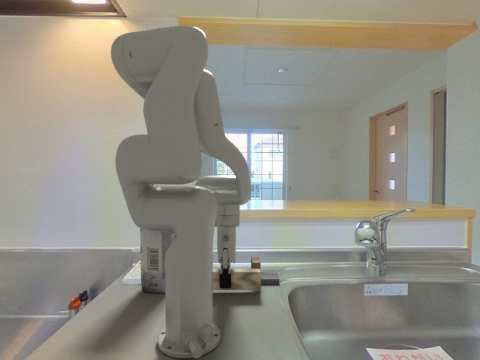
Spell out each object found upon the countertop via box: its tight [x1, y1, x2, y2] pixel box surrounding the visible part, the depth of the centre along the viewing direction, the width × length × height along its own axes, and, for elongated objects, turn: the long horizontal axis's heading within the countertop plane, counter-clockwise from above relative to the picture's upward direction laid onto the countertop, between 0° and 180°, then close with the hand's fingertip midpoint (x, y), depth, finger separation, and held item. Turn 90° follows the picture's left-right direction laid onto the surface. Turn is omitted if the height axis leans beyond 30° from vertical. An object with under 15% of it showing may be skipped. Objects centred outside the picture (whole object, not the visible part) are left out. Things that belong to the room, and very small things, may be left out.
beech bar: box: [213, 268, 262, 291], centre depth 84 cm, size 20×3×5 cm, turn 91°
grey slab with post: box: [250, 254, 281, 285], centre depth 94 cm, size 8×14×6 cm, turn 91°
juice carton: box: [139, 228, 177, 294], centre depth 87 cm, size 9×10×27 cm
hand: (225, 284), depth 84 cm, fingers closed on beech bar, 3 cm apart
